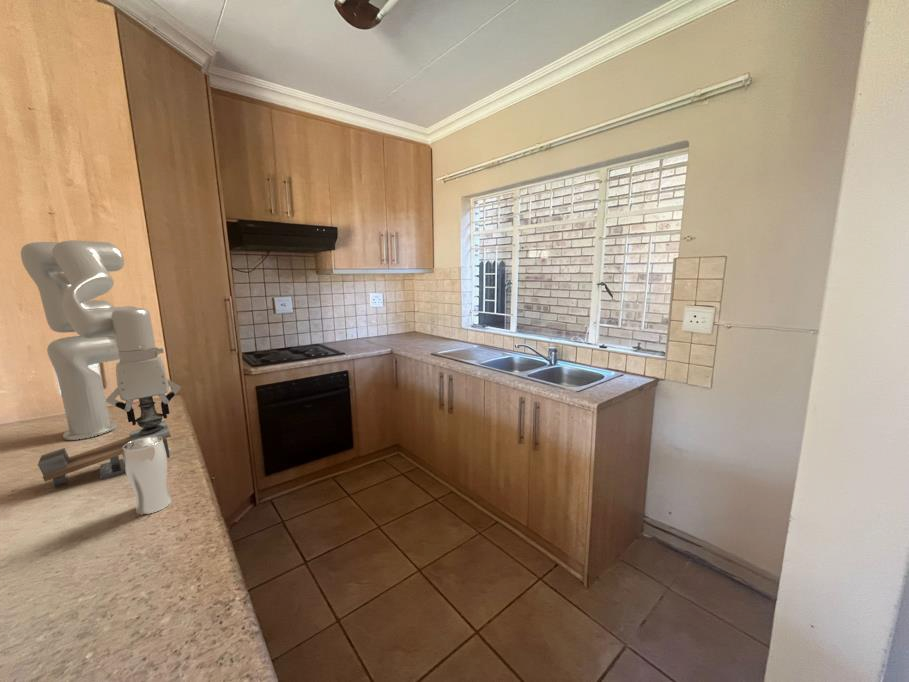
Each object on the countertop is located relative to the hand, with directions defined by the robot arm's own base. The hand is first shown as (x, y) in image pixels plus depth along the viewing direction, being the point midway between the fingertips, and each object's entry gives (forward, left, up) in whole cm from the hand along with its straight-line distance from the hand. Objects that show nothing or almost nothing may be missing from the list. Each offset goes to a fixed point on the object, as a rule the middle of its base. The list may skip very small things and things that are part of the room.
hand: (149, 419), depth 99 cm
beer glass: (+27, -2, -12) cm, 29 cm away
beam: (0, -8, -6) cm, 10 cm away
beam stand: (0, -8, -11) cm, 14 cm away
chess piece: (0, 0, -3) cm, 3 cm away
